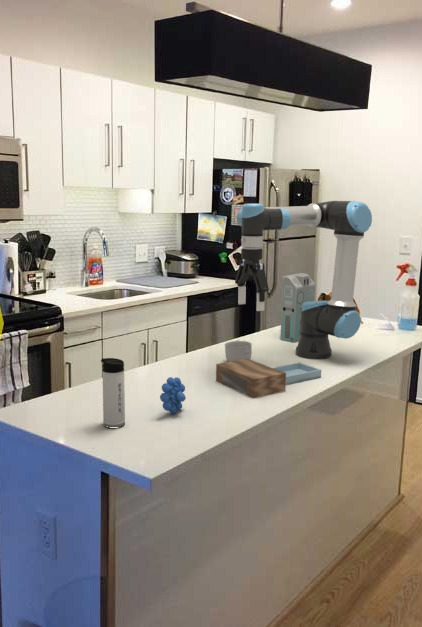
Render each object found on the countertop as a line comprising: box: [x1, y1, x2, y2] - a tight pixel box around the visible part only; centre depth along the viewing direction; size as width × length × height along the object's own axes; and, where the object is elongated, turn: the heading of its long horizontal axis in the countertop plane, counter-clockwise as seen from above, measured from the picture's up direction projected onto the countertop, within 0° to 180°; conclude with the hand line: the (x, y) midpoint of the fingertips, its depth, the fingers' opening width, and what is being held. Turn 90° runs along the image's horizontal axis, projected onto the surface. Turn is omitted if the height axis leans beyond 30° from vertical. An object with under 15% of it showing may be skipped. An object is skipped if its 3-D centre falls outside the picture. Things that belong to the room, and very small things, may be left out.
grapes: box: [159, 376, 187, 414], centre depth 191 cm, size 12×7×12 cm, turn 146°
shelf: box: [215, 359, 287, 399], centre depth 221 cm, size 14×22×6 cm, turn 35°
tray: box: [271, 362, 322, 386], centre depth 232 cm, size 20×12×3 cm, turn 125°
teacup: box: [224, 339, 253, 362], centre depth 252 cm, size 14×11×8 cm
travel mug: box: [100, 357, 126, 428], centre depth 181 cm, size 6×7×20 cm
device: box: [279, 272, 316, 343], centre depth 291 cm, size 16×8×30 cm, turn 140°
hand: (250, 307), depth 223 cm, fingers open, 13 cm apart
